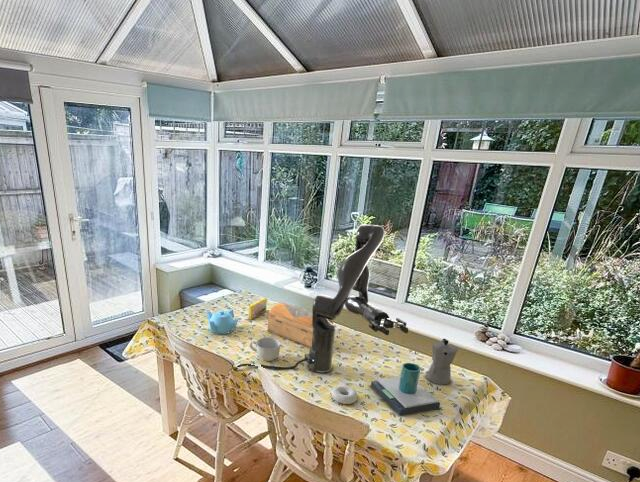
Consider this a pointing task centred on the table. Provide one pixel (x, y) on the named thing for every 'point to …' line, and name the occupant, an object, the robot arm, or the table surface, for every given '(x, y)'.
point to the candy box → (257, 308)
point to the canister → (409, 378)
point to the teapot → (222, 321)
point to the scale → (404, 397)
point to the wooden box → (291, 323)
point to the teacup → (266, 348)
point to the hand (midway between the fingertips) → (397, 332)
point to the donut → (344, 399)
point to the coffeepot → (441, 362)
